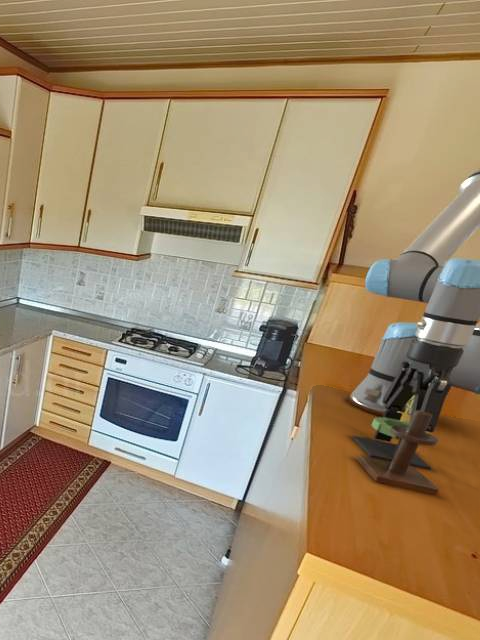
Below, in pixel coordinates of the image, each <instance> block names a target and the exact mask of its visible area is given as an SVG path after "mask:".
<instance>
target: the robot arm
mask: <svg viewBox="0 0 480 640" xmlns="http://www.w3.org/2000/svg"><path fill="white" fill-rule="evenodd" d="M479 228H480V167H479V168H477V170H475V171H474V172H472V173H471V174H470V175H469V176H468V177H467V178H466V179H465V180H464V181H463V182H462V183H461V184H460V186H459V187H458V189H457V195H456V196H455V197H454V198H453V199H452V201H450V203H449V204H448V205H447V206H446V207H444V209H443V210H442V211H441V212H440V213H439V214H438V215H437V216H436V217H435V218H434V219H433V220H432V221H431V223H429V224H428V225H427V226H426V228H425V229H424V230H422V232H421V233H420V234H419V235H418V236H417V237H416V238H415V239H414V240H413V241H412V242H411V243H410V244H409V245H408V246H407V247H406V248H405V249H404V251H402V252H401V254H399V256H397V257H396V258H395V260H394V259H392V258H389V259H387V258H386V259H383V258H382V259H379V260H376V261H374V263H373V264H372V265H371V266H370V268H369V270H368V271H367V274H366V277H365V281H364V283H365V290H366V291H367V292H368V293H371V294H373V295H374V294H375V295H377V296H383V297H385V298H392V299H393V298H394V299H400V300H407V301H413V302H419V303H424V304H427V305H426V308H425V309H424V313H423V314H422V317H421V320H420V321H418V322H407V321H405V322H404V321H400V322H399V321H398V322H394V323H391V324H390V325H389V326H388V327H387V329H386V331H385V333H384V335H383V337H382V338H381V342H380V343H379V346H378V349H377V352H376V353H375V357H374V359H373V362H372V364H371V366H370V369H369V371H368V373H367V375H366V376H365V378H364V379H363V380H362V381H361V382H360V383H359V384H358V385H357V387H356V388H355V389H354V390H353V391H352V392H351V393H350V396H349V398H348V402H349V403H350V404H351V405H352V406H354V407H356V408H358V409H361V410H363V411H365V412H368V413H371V414H374V415H376V416H379V417H383V418H384V417H386V418H391V419H396V420H400V419H401V416H402V413H399V412H405V410H404V409H403V408H404V406H405V405H406V404H407V403H408V401H409V400H410V399H411V398H412V397H413V395H415V397H414V402H413V408H412V413H411V418H412V416H413V414H414V412H415V410H420V411H425V412H428V413H430V414H432V415H433V416H432V418H431V420H430V422H429V424H428V426H427V428H426V431H428V433H433V432H435V429H436V426H437V423H438V421H439V418H440V414H441V413H442V409H443V407H444V403H445V401H446V398H447V396H446V394H447V392H448V391H449V389H450V387H451V388H452V387H453V388H456V389H460V390H463V391H467V392H470V393H474V394H475V395H480V321H479V319H480V260H478V259H470V258H459V257H454V258H451V257H452V256H453V255H454V254H456V252H457V251H459V249H460V248H461V247H462V246H463V245H464V244H465V243H466V242H467V241H468V240H469V239H470V238H471V237H472V236H473V235H474V234H475V232H476V231H478V229H479ZM453 367H454V368H453ZM446 368H453V370H452V371H451V374H450V376H449V380H450V381H446V380H444V379H443V377H444V371H445V369H446ZM450 390H451V389H450ZM449 392H450V391H449ZM449 392H448V393H449ZM447 395H448V394H447ZM445 397H446V398H445ZM444 400H445V401H444ZM398 411H399V412H398ZM410 420H411V419H410ZM405 427H408V425H405ZM426 431H425V432H426ZM373 438H374V440H377V441H382V442H387V443H391V441H392V439H393V437H391V436H388V435H386V434H383V433H381V432H379V431H377V430H375V433H374V436H373ZM401 440H402V438H400V439H398V442H397V443H396V444H397V446H396V448H395V451H394V453H393V455H392V456H393V457H394V455H395V453H396V451H397V449H398V447H399V444H400V442H401Z"/></svg>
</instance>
